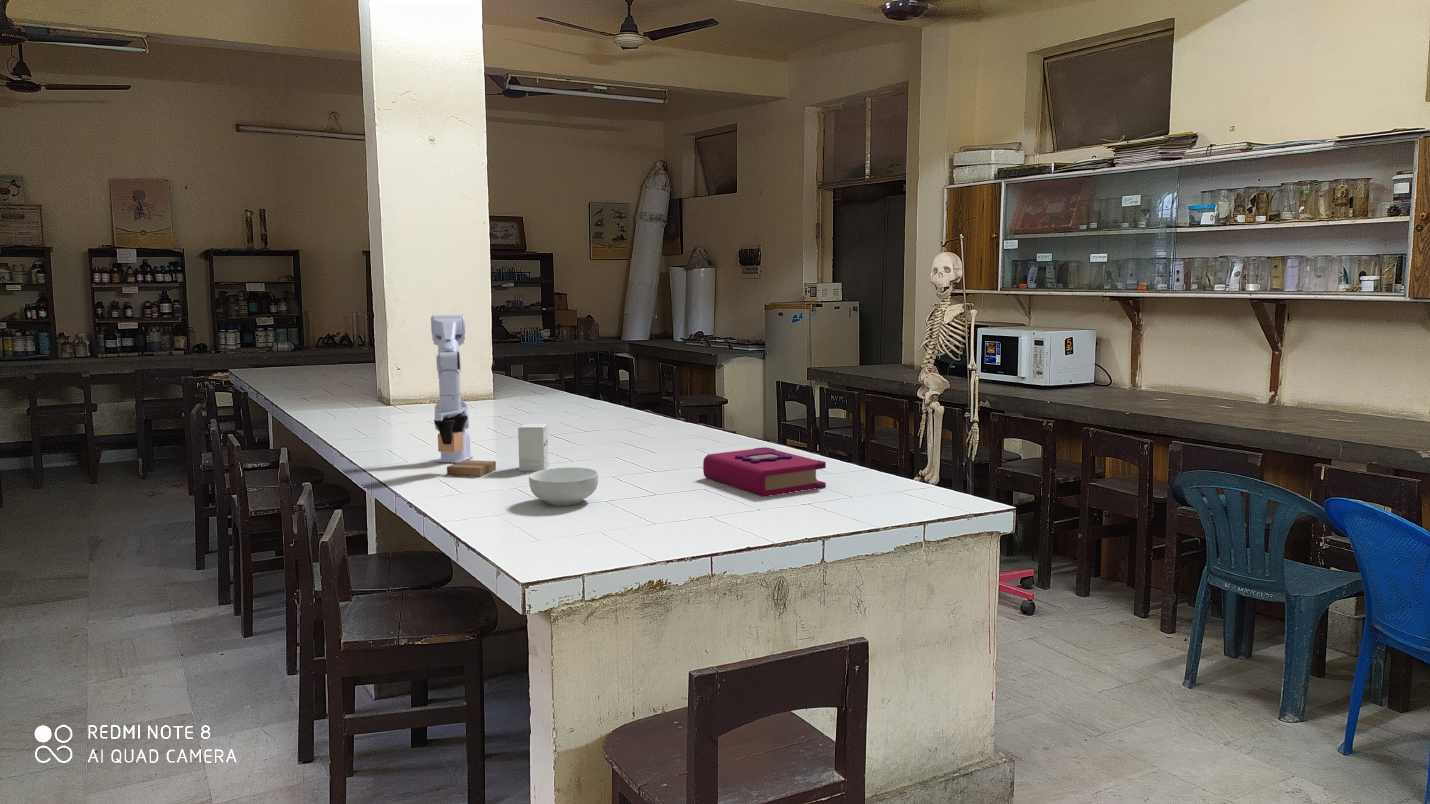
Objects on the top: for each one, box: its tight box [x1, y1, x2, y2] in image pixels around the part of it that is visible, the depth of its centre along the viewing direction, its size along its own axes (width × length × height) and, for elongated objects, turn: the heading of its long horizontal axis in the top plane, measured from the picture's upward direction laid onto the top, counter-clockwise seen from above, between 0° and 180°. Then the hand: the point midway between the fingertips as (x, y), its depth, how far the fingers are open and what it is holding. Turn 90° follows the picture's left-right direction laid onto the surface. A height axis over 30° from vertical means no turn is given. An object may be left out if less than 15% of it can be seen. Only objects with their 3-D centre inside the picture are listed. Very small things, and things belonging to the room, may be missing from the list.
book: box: [702, 446, 827, 497], centre depth 260 cm, size 21×28×8 cm
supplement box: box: [517, 423, 549, 472], centre depth 281 cm, size 7×7×13 cm
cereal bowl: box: [528, 466, 599, 506], centre depth 239 cm, size 17×17×7 cm
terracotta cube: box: [437, 432, 463, 453], centre depth 276 cm, size 5×5×5 cm
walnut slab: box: [446, 459, 497, 478], centre depth 276 cm, size 10×10×3 cm
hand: (452, 442), depth 276 cm, fingers closed on terracotta cube, 5 cm apart
